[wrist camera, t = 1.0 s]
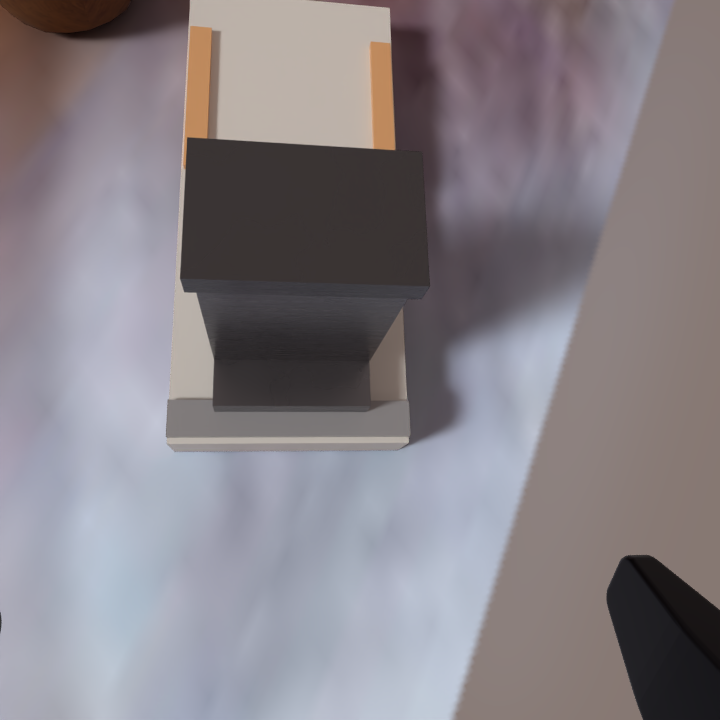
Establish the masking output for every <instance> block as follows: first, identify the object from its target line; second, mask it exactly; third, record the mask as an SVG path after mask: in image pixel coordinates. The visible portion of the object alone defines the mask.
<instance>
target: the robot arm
mask: <svg viewBox="0 0 720 720" xmlns="http://www.w3.org/2000/svg"><path fill="white" fill-rule="evenodd" d="M607 605H608V609H609V613H610V616H611V619H612V622H613V626H614V629H615V633H616V636H617V639H618V643H619V646H620V649H621V653H622V656H623V660H624V663H625V666H626V669H627V673H628V676H629V680H630V683H631V686H632V690H633V693H634V696H635V699H636V702H637V705H638V707H639V710H640V713H641V715H642V718H643V720H720V610H719V609H718V608H717V607H715V606H714V605H713V604H711V603H710V602H709V601H708V600H707V599H705V598H704V597H703V596H701V595H700V594H699V593H698V592H697V591H695V590H694V589H693V588H692V587H690V586H689V585H688V584H687V583H685V582H684V581H683V580H682V579H680V578H679V577H678V576H676V575H675V574H674V573H673V572H672V571H671V570H669V569H668V568H667V567H665V566H664V565H663V564H662V563H661V562H659V561H658V560H657V559H655V558H654V557H651V556H649V555H628V556H625V557H624V558H622V559H621V561H620V562H619V565H618V567H617V569H616V571H615V573H614V576H613V578H612V580H611V582H610V584H609V587H608V589H607ZM1 621H2V620H1V613H0V632H1Z"/></svg>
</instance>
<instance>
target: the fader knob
mask: <svg viewBox="0 0 720 720" xmlns="http://www.w3.org/2000/svg"><path fill="white" fill-rule="evenodd" d="M180 280H181V284H182V287H183V290H184V292H188V293H196V294H197V298H198V301H199V305H200V309H201V313H202V316H203V320H204V324H205V328H206V331H207V335H208V339H209V343H210V346H211V350H212V354H213V358H214V374H213V402H212V406H213V409H214V412H367V410H368V409H369V408H370V407H371V397H370V363H369V361H370V360H371V358H372V357H373V355H374V353H375V352H376V350H377V348H378V347H379V345H380V343H381V342H382V340H383V338H384V337H385V335H386V334H387V332H388V330H389V329H390V327H391V325H392V324H393V322H394V320H395V319H396V317H397V316H398V314H399V312H400V311H401V309H402V307H403V306H404V304H405V302H406V301H407V299H422V297H423V296H424V294H425V293H426V291H427V290H428V288H429V287H430V282H429V265H428V247H427V229H426V212H425V194H424V176H423V158H422V152H417V151H401V150H385V149H369V148H353V147H337V146H320V145H304V144H288V143H272V142H256V141H240V140H224V139H208V138H192V137H187V150H186V169H185V189H184V209H183V229H182V248H181V268H180Z"/></svg>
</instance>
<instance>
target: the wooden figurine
mask: <svg viewBox="0 0 720 720" xmlns="http://www.w3.org/2000/svg"><path fill="white" fill-rule="evenodd" d="M130 2H131V0H0V5H1V6H2V7H3V8H5V9H6V10H7V11H8V12H9V13H10V14H11V15H13V16H14V17H16V18H17V19H19V20H20V21H21V22H23V23H24V24H26V25H29V26H31V27H34V28H36V29H39V30H42V31H44V32H57V33H71V32H78V31H84V30H90V29H93V28H95V27H97V26H100V25H102V24H105V23H107V22H110V21H111V20H113V19H114V18H116V17H117V16H118V15H120V14H121V13H122V12H124V11H125V10H127V8H128V6H129V4H130Z"/></svg>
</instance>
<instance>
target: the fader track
mask: <svg viewBox="0 0 720 720" xmlns="http://www.w3.org/2000/svg"><path fill="white" fill-rule="evenodd" d="M187 137H192V138H208V139H224V140H240V141H256V142H272V143H288V144H304V145H320V146H337V147H353V148H369V149H385V150H396V142H395V119H394V97H393V75H392V52H391V30H390V8H383V7H373V6H362V5H352V4H341V3H330V2H320V1H309V0H190V13H189V32H188V51H187V70H186V89H185V108H184V127H183V146H182V165H181V184H180V203H179V222H178V241H177V260H176V279H175V298H174V317H173V336H172V355H171V374H170V392H169V400H168V405H167V423H166V437H167V445H168V446H169V447H170V448H171V449H172V450H173V451H174V452H217V451H370V450H399V449H400V448H402V447H403V446H405V445H406V444H408V443H409V436H411V434H410V412H409V401H407V388H406V366H405V344H404V321H403V307H402V309H401V311H400V312H399V314H398V316H397V317H396V319H395V320H394V322H393V324H392V325H391V327H390V329H389V330H388V332H387V334H386V335H385V337H384V338H383V340H382V342H381V343H380V345H379V347H378V348H377V350H376V352H375V353H374V355H373V357H372V358H371V360H370V361H369V363H370V397H371V407H370V408H369V409H368V410H367V412H214V409H213V406H212V402H213V374H214V358H213V354H212V350H211V346H210V343H209V339H208V335H207V331H206V328H205V324H204V320H203V316H202V313H201V309H200V305H199V301H198V298H197V294H196V293H188V292H184V290H183V287H182V284H181V280H180V268H181V248H182V229H183V209H184V189H185V169H186V150H187Z"/></svg>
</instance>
